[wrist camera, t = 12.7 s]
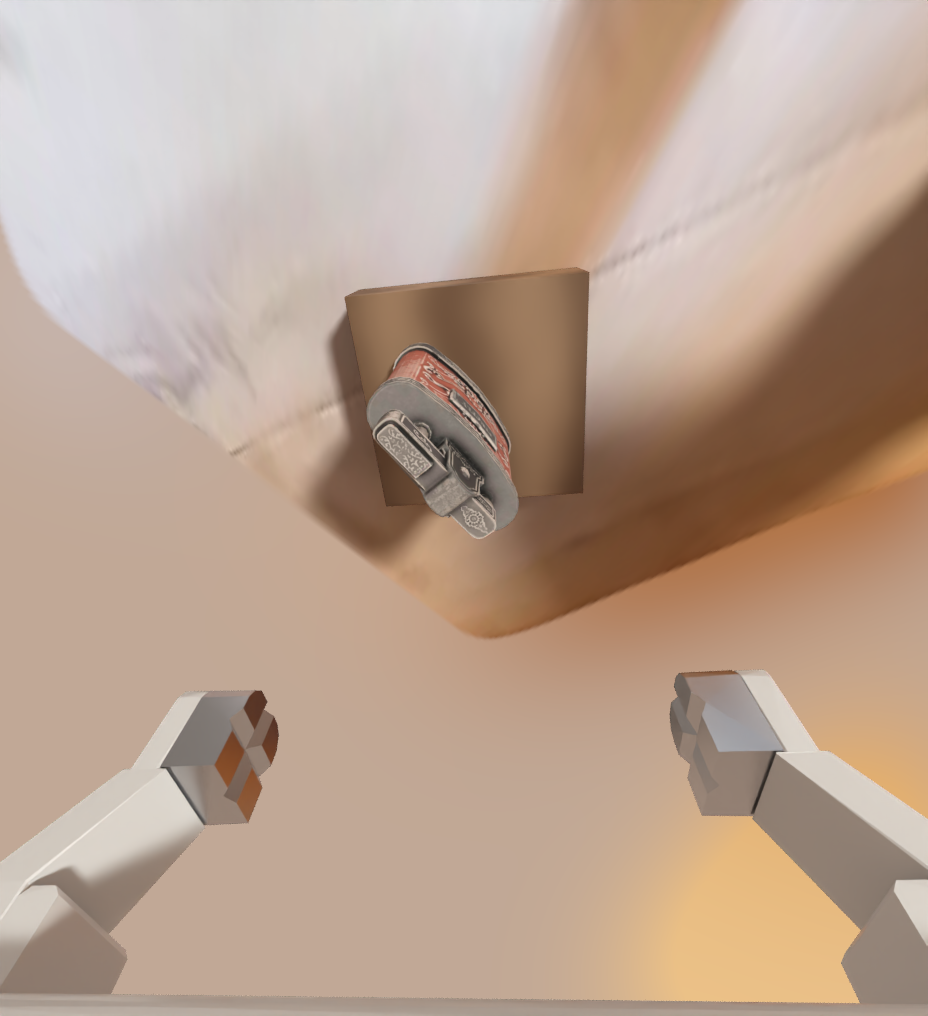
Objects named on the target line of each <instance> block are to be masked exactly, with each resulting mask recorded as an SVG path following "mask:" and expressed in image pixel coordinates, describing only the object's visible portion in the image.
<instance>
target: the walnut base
mask: <svg viewBox="0 0 928 1016" xmlns="http://www.w3.org/2000/svg"><path fill="white" fill-rule="evenodd" d="M588 297H589V272H587V271H585V270H582V269H580V268H577V267H576V268H566V269H557V270H547V271H537V272H527V273H518V274H508V275H498V276H489V277H479V278H469V279H459V280H450V281H440V282H430V283H421V284H411V285H401V286H391V287H382V288H372V289H362V290H358V291H356V292H354V293H352V294H350V295H348V296H346V297H345V302H346V307H347V312H348V317H349V322H350V327H351V332H352V337H353V342H354V347H355V352H356V357H357V362H358V367H359V372H360V377H361V382H362V387H363V392H364V397H365V402H366V407H368V403H369V400H370V398H371V397H372V395H373V394H374V392H375V391H376V390H377V389H378V387H379V386H380V385H381V384H383V383H384V382H386V381H387V380H388V378H389V377H390V375H391V374H392V372H393V367H394V364H395V361H396V359H397V358H398V356H399V355H400V353H401V352H402V351H403V350H404V349H405V348H407V347H408V346H409V345H412V344H415V343H427V344H429V345H431V346H433V347H435V348H436V349H437V350H438V351H440V352H441V353H442V354H443V355H445V356H446V357H447V358H448V359H450V360H451V361H452V362H453V363H455V364H456V365H457V366H458V367H459V368H460V369H461V370H462V371H463V372H464V373H465V374H466V375H467V376H468V377H469V378H470V379H471V380H472V381H473V382H474V383H475V384H476V385H477V386H478V387H479V389H480V390H481V391H482V393H483V394H484V395H485V397H486V398H487V399H488V401H489V402H490V403H491V405H492V406H493V408H494V409H495V410H496V412H497V414H498V416H499V417H500V419H501V421H502V423H503V424H504V426H505V428H506V430H507V432H508V434H509V437H510V442H511V449H510V453H509V463H510V471H511V479H512V483H513V484H514V486H515V488H516V491H517V494H518V497H531V496H546V495H560V494H575V493H583V470H584V435H585V400H586V366H587V331H588ZM371 432H372V437H373V430H372V429H371ZM373 442H374V447H375V452H376V457H377V462H378V467H379V472H380V477H381V482H382V487H383V492H384V497H385V502H386V506H400V505H415V504H427V503H426V502H425V500H424V498H423V494H422V493H421V491H420V489H419V488H418V487H417V486H416V485H415V484H414V483H413V481H412V480H411V479H410V478H409V477H408V476H407V475H406V474H405V472H404V471H403V470H402V469H401V468H400V467H399V466H398V464H397V463H396V462H395V461H394V460H393V459H392V457H391V456H390V455H389V454H388V453H387V452H386V451H385V450H384V449H383V448H382V447H381V446H380V445H379V444H378V443H377V442H376V441H375V439H374V437H373Z"/></svg>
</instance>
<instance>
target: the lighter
mask: <svg viewBox="0 0 928 1016" xmlns="http://www.w3.org/2000/svg"><path fill="white" fill-rule="evenodd" d="M367 421H368V423H369V425H370V427H371V429H372V430H373V437H374V439H375V441H376V442H377V443H378V444H379V445H380V446H381V447H382V448H383V449H384V450H385V451H386V452H387V453H388V454H389V455H390V456H391V457H392V459H393V460H394V461H395V462H396V463H397V464H398V466H399V467H400V468H401V469H402V470H403V471H404V472H405V474H406V475H407V476H408V477H409V478H410V479H411V480H412V481H413V483H414V484H415V485H416V486H417V487H418V488H419V489H420V491H421V493H422V494H423V498H424V500H425V502H426V503H427V504H428V506H429V507H430V508H431V509H432V510H433V511H434V512H435V513H436V514H437V515H439V516H441V517H444V516H446V517H448V518H449V517H450V516H451V517H452V518H453V519H454V520H455V521H456V522H457V523H458V524H459V525H460V526H462V527H463V528H464V529H465V530H466V531H467V532H468V533H469V534H470V535H471V536H472V537H473V538H476V539H483V538H485V537H487V536H488V535H490V534H491V533H492V532H493V531H498V530H500V529H502V528H504V527H505V526H507V525H508V524H509V523H510V522H511V521H512V520H513V519H514V518H515V516H516V514H517V512H518V506H519V500H518V494H517V491H516V488H515V486H514V484H513V483H512V479H511V471H510V463H509V453H510V449H511V442H510V437H509V434H508V432H507V430H506V428H505V426H504V424H503V423H502V421H501V419H500V417H499V416H498V414H497V412H496V410H495V409H494V408H493V406H492V405H491V403H490V402H489V401H488V399H487V398H486V397H485V395H484V394H483V393H482V391H481V390H480V389H479V387H478V386H477V385H476V384H475V383H474V382H473V381H472V380H471V379H470V378H469V377H468V376H467V375H466V374H465V373H464V372H463V371H462V370H461V369H460V368H459V367H458V366H457V365H456V364H455V363H453V362H452V361H451V360H450V359H448V358H447V357H446V356H445V355H443V354H442V353H441V352H440V351H438V350H437V349H436V348H435V347H433V346H431V345H429V344H427V343H415V344H412V345H409V346H408V347H407V348H405V349H404V350H403V351H402V352H401V353H400V355H399V356H398V358H397V359H396V361H395V364H394V367H393V372H392V374H391V375H390V377H389V378H388V380H387V381H386V382H384V383H383V384H381V385H380V386H379V387H378V389H377V390H376V391H375V392H374V394H373V395H372V397H371V398H370V400H369V403H368V407H367Z"/></svg>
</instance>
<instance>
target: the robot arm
mask: <svg viewBox="0 0 928 1016" xmlns="http://www.w3.org/2000/svg"><path fill="white" fill-rule="evenodd" d="M674 688H675V691H676V693H677V695H678V697H677V698H676V699H675V700H674V701H673V702H671V708H670V723H671V731H672V734H673V739H674V742H675V745H676V748H677V751H678V754H679V755H680V756H681V757H682V758H684V759H685V760H686V761H687V762H688V763H689V764H690V769H689V774H688V780H689V783H690V786H691V788H692V791H693V794H694V796H695V799H696V801H697V804H698V806H699V809H700V812H701V814H702V815H703V816H753V820H754V821H755V822H756V823H757V824H758V825H759V826H760V827H761V828H762V829H763V830H764V831H765V832H766V833H767V834H768V835H769V836H770V837H771V838H772V839H773V840H774V841H775V842H776V844H777V845H779V846H780V848H781V849H783V851H784V852H785V853H786V854H787V855H788V856H789V857H790V858H791V859H792V860H793V861H794V862H795V863H796V864H797V865H798V866H799V867H800V868H801V869H802V870H803V871H804V872H805V873H806V874H807V875H808V876H809V877H810V878H811V879H812V880H813V881H814V882H815V883H816V884H817V886H818V887H819V888H820V889H821V890H822V891H823V892H824V893H825V894H826V895H827V896H828V897H829V898H830V899H831V900H832V901H833V902H834V903H835V904H836V905H837V906H838V907H839V908H840V909H841V910H842V911H843V912H844V913H845V914H846V915H847V916H848V917H849V918H850V919H851V920H852V921H853V922H854V923H855V924H856V925H857V926H858V928H860V930H861V931H860V933H859V934H858V935H857V937H856V938H855V940H854V941H853V943H852V944H851V945H850V947H849V948H848V950H847V951H846V953H845V955H844V957H843V960H842V962H841V964H842V966H843V968H844V970H845V972H846V974H847V977H848V979H849V981H850V983H851V985H852V987H853V989H854V991H855V993H856V995H857V997H858V1000H859V1002H860V1003H786V1002H785V1003H783V1002H781V1003H780V1002H778V1003H777V1002H702V1001H699V1002H698V1001H623V1000H622V1001H620V1000H613V1001H612V1000H539V999H459V998H377V997H296V996H211V995H210V996H209V995H208V996H207V995H131V994H129V995H128V994H111V993H112V990H113V988H114V986H115V984H116V982H117V980H118V978H119V976H120V974H121V972H122V970H123V967H124V965H125V963H126V961H127V955H126V950H125V949H124V948H123V947H122V946H121V945H120V944H119V943H118V942H117V941H115V940H114V939H113V938H112V937H111V936H110V935H109V933H110V932H111V931H112V930H113V929H114V928H115V927H116V926H117V924H118V923H119V922H120V921H121V920H122V919H123V918H124V917H125V916H126V914H127V913H128V912H129V911H130V910H131V909H132V908H133V907H134V906H135V904H136V903H137V902H138V901H139V900H140V899H141V898H142V897H143V896H144V895H145V893H146V892H147V891H148V890H149V889H150V888H151V887H152V886H153V885H154V884H155V883H156V881H157V880H158V879H159V878H160V877H161V876H162V875H163V874H164V873H165V871H166V870H167V869H168V868H169V867H170V866H171V865H172V864H173V863H174V862H175V861H176V859H177V858H178V857H179V856H180V855H181V854H182V853H183V852H184V851H185V850H186V848H187V847H188V846H189V845H190V844H191V843H192V842H193V841H194V840H195V838H196V837H197V836H198V835H199V834H200V833H201V832H202V831H203V830H204V829H205V826H204V825H218V824H238V823H248V822H249V820H250V817H251V815H252V812H253V810H254V807H255V805H256V802H257V800H258V797H259V795H260V792H261V790H262V785H261V781H260V778H259V776H260V775H261V774H262V773H263V772H265V771H266V770H267V769H268V768H269V767H270V766H271V764H272V762H273V759H274V756H275V754H276V751H277V744H278V737H279V733H278V725H277V722H276V720H275V718H274V716H273V715H271V714H270V713H268V712H267V711H265V710H264V708H265V706H266V704H267V700H266V698H265V696H264V694H263V692H262V691H256V690H254V691H194V692H185V693H184V694H183V695H181V696H180V697H178V699H177V700H176V701H175V703H174V704H173V706H172V708H171V709H170V710H169V712H168V713H167V715H166V716H165V718H164V719H163V721H162V723H161V724H160V726H159V727H158V729H157V730H156V732H155V733H154V735H153V736H152V738H151V739H150V741H149V742H148V744H147V745H146V747H145V748H144V750H143V751H142V753H141V754H140V756H139V757H138V759H137V761H136V762H135V764H134V765H133V767H132V768H131V769H123V770H122V771H121V772H119V773H118V774H117V775H115V776H114V777H113V778H111V779H110V780H109V781H107V782H106V783H105V784H104V785H102V786H101V787H99V788H98V789H97V790H95V791H94V792H93V793H91V794H90V795H89V796H87V797H86V798H85V799H84V800H82V801H81V802H80V803H79V804H77V805H76V806H74V807H73V808H72V809H70V810H69V811H68V812H66V813H65V814H64V815H62V816H61V817H60V818H58V819H57V820H56V821H55V822H53V823H52V824H50V825H49V826H48V827H46V828H45V829H44V830H43V831H41V832H40V833H39V834H37V835H36V836H35V837H33V838H32V839H31V840H29V841H28V842H27V843H25V844H24V845H23V846H21V847H20V848H19V849H17V850H16V851H15V852H13V853H12V854H11V855H9V856H8V857H7V858H5V859H4V860H3V861H1V862H0V1016H928V819H927V818H925V817H924V816H923V815H921V814H920V813H918V812H917V811H915V810H914V809H912V808H911V807H909V806H908V805H907V804H905V803H904V802H902V801H901V800H899V799H898V798H896V797H895V796H894V795H892V794H890V793H889V792H888V791H886V790H885V789H883V788H882V787H881V786H879V785H878V784H876V783H875V782H873V781H872V780H870V779H869V778H868V777H866V776H865V775H863V774H861V773H860V772H859V771H857V770H856V769H855V768H853V767H851V766H850V765H848V764H847V763H846V762H844V761H843V760H841V759H840V758H838V757H837V756H836V755H834V754H833V753H831V752H830V751H819V749H818V748H817V746H816V744H815V743H814V742H813V740H812V739H811V737H810V735H809V734H808V732H807V731H806V729H805V728H804V726H803V725H802V723H801V722H800V720H799V719H798V717H797V715H796V714H795V712H794V711H793V709H792V708H791V706H790V705H789V703H788V702H787V700H786V699H785V697H784V696H783V694H782V693H781V691H780V690H779V688H778V687H777V685H776V683H775V682H774V680H773V679H772V677H771V676H770V674H769V673H767V672H766V671H765V670H739V671H732V670H729V671H709V672H689V673H679V674H678V675H677V676H676V679H675V684H674Z"/></svg>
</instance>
